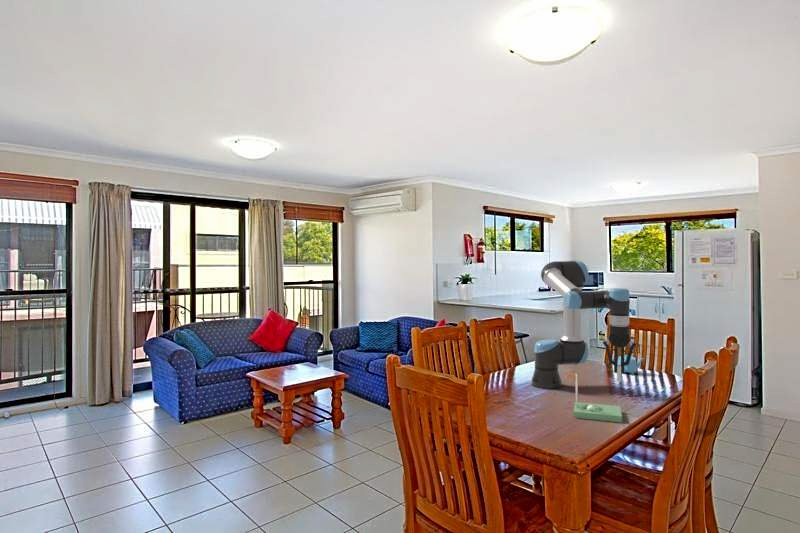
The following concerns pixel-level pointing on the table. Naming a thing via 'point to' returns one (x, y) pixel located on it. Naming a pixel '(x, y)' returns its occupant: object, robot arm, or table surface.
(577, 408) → the green
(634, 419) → the table surface
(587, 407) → the ball
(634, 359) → the teapot
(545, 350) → the robot arm
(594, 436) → the table surface
